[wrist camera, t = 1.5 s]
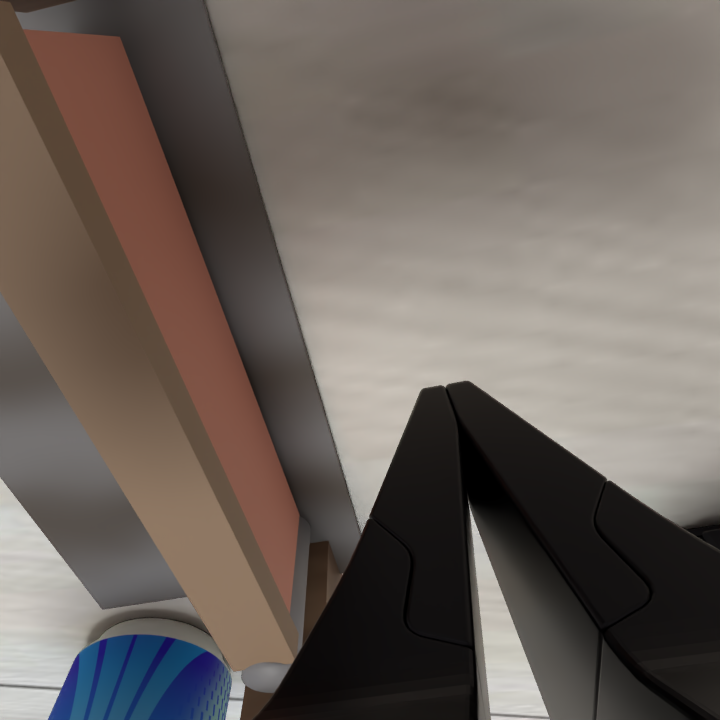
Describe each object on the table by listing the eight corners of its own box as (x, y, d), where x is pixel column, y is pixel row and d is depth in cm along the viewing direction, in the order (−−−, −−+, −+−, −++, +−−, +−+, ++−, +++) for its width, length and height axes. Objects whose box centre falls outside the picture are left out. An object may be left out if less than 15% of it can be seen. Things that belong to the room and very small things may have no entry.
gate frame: (372, 572, 26) (384, 817, 17) (110, 612, 27) (7, 859, 19) (143, -202, 11) (-368, -855, 3) (-393, -50, 13) (-1794, -246, 4)
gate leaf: (317, 540, 23) (308, 688, 18) (271, 547, 24) (249, 696, 18) (128, 20, 13) (-28, -5, 8) (49, 40, 13) (-161, 30, 8)
